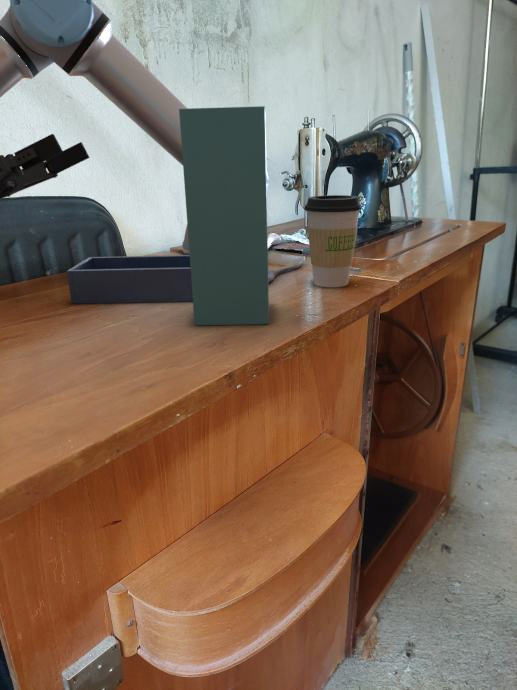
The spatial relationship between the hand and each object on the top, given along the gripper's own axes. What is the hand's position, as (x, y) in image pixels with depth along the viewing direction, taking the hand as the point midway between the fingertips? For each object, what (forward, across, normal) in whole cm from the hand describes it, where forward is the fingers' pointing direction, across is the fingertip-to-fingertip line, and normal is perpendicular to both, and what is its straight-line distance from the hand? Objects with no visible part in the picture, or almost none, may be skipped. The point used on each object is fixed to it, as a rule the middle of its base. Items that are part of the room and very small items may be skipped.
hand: (72, 146), depth 83 cm
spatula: (+21, -33, -33) cm, 51 cm away
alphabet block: (-2, -18, -24) cm, 30 cm away
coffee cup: (+30, -3, -39) cm, 49 cm away
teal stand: (+14, +14, -33) cm, 38 cm away
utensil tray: (0, 0, -26) cm, 26 cm away
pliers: (+22, -12, -34) cm, 42 cm away
